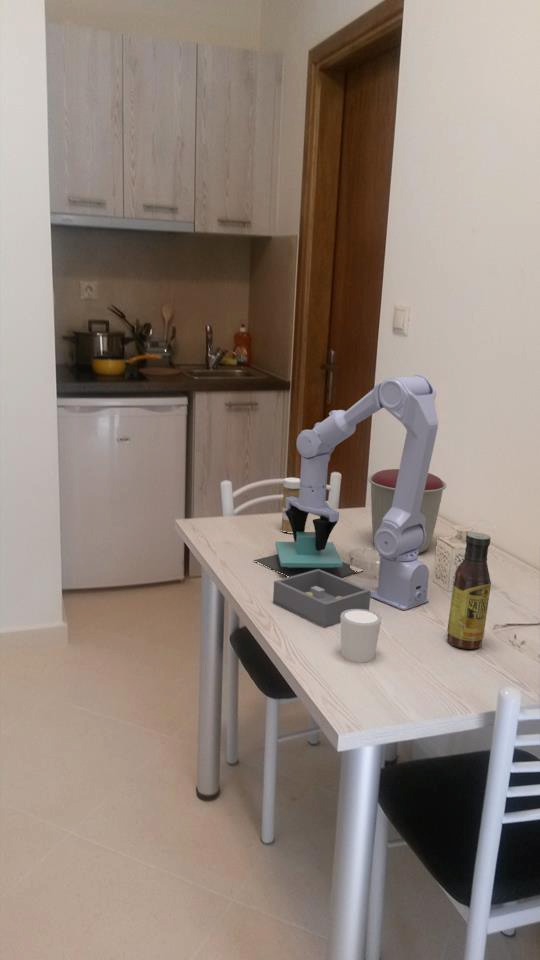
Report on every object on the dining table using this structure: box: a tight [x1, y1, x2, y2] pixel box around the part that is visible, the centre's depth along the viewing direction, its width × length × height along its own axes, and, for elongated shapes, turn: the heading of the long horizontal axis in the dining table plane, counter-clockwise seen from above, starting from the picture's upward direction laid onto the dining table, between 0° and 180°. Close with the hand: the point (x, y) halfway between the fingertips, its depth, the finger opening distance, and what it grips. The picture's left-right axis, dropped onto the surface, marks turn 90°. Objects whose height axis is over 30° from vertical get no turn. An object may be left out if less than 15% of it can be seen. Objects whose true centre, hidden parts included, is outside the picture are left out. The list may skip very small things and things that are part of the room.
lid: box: [275, 531, 343, 568], centre depth 175 cm, size 15×13×6 cm
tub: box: [272, 569, 372, 629], centre depth 154 cm, size 14×12×4 cm
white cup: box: [340, 609, 383, 664], centre depth 134 cm, size 7×7×7 cm
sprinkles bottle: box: [280, 477, 300, 532], centre depth 199 cm, size 5×5×13 cm
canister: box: [367, 468, 447, 554], centre depth 190 cm, size 18×18×21 cm
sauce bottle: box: [446, 531, 492, 650], centre depth 139 cm, size 6×6×20 cm
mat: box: [253, 553, 357, 579], centre depth 176 cm, size 18×16×1 cm
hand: (309, 545), depth 175 cm, fingers closed on lid, 6 cm apart
